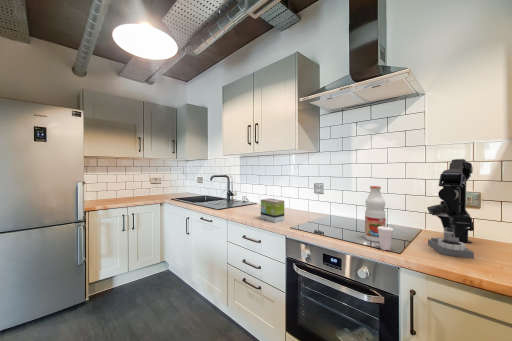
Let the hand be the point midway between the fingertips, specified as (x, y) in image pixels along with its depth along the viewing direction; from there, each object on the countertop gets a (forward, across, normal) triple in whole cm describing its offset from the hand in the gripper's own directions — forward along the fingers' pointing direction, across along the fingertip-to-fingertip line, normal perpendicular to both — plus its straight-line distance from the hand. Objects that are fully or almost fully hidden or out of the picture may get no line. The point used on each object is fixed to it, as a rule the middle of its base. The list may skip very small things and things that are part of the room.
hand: (451, 234), depth 97 cm
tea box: (+8, -31, -91) cm, 96 cm away
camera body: (+8, -2, 0) cm, 8 cm away
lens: (+5, 0, 0) cm, 5 cm away
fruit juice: (+8, -8, -29) cm, 31 cm away
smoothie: (+8, +6, -27) cm, 29 cm away
